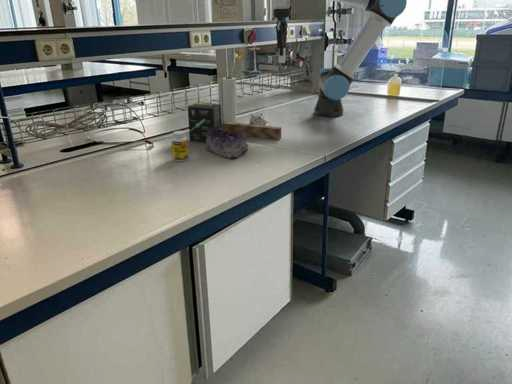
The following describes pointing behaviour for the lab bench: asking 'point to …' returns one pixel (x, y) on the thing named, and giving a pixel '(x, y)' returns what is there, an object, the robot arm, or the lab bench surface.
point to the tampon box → (203, 120)
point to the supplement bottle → (179, 146)
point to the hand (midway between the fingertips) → (281, 62)
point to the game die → (257, 120)
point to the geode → (226, 143)
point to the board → (253, 130)
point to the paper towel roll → (227, 99)
